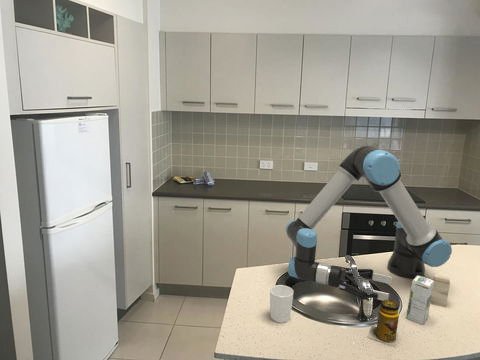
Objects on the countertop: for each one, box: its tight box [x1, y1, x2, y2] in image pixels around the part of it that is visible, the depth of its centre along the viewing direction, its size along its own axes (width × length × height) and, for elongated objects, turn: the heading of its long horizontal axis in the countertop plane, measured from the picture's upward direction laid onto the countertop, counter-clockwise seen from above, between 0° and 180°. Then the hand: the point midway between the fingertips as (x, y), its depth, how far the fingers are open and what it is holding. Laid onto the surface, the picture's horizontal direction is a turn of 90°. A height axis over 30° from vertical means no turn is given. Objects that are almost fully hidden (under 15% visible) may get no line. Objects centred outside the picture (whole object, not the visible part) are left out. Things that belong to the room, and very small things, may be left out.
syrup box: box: [405, 276, 434, 325], centre depth 134 cm, size 6×6×14 cm
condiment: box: [367, 299, 400, 347], centre depth 125 cm, size 7×8×12 cm
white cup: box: [269, 284, 294, 324], centre depth 133 cm, size 8×8×10 cm
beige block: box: [430, 273, 451, 308], centre depth 146 cm, size 5×5×10 cm
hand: (390, 288), depth 138 cm, fingers open, 13 cm apart
